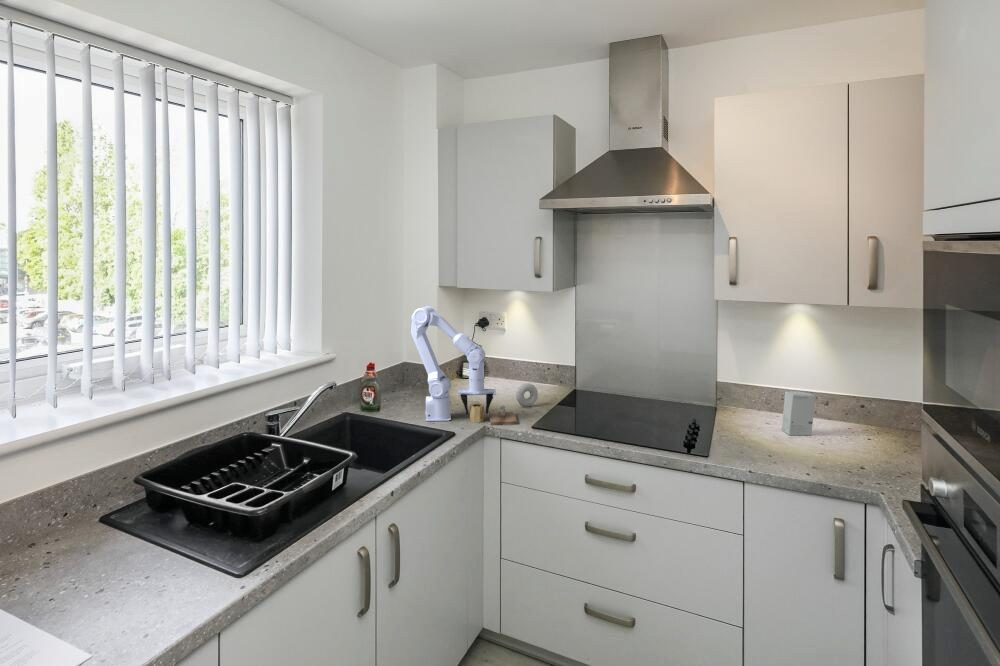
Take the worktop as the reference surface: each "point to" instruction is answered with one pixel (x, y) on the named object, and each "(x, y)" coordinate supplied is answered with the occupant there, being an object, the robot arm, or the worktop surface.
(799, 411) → the skincare box
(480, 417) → the hub
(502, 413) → the shaft stand
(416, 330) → the robot arm
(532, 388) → the donut
